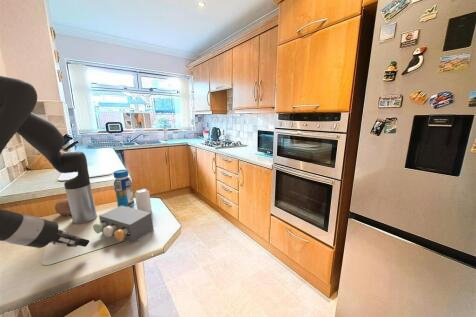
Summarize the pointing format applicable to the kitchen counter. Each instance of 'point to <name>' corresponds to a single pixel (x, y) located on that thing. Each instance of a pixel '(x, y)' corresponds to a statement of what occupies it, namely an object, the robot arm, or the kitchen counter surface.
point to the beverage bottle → (123, 188)
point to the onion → (63, 207)
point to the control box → (129, 221)
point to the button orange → (121, 234)
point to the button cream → (110, 230)
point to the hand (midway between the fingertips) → (86, 243)
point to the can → (143, 200)
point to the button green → (99, 226)
